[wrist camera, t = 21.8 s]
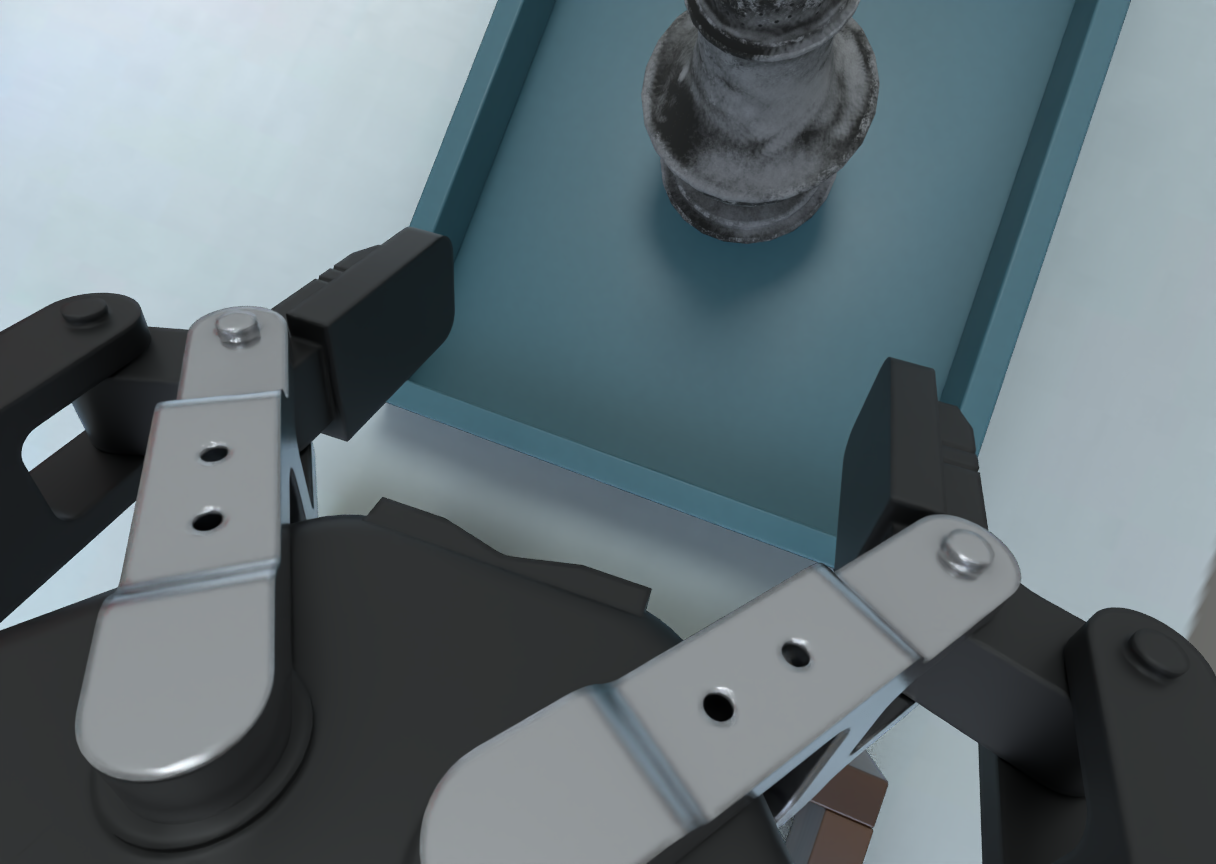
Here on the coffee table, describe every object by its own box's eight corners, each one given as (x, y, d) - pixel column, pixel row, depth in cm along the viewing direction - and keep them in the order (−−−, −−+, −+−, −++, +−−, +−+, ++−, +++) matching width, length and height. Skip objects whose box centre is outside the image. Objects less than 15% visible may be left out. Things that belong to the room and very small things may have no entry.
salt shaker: (886, 120, 20) (1145, -415, 9) (783, 288, 20) (900, -18, 8) (714, 37, 21) (732, -545, 10) (615, 196, 21) (507, -192, 9)
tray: (899, 590, 19) (929, 604, 17) (385, 400, 22) (344, 387, 20) (1129, -90, 21) (1190, -174, 18) (616, -194, 23) (606, -280, 21)
